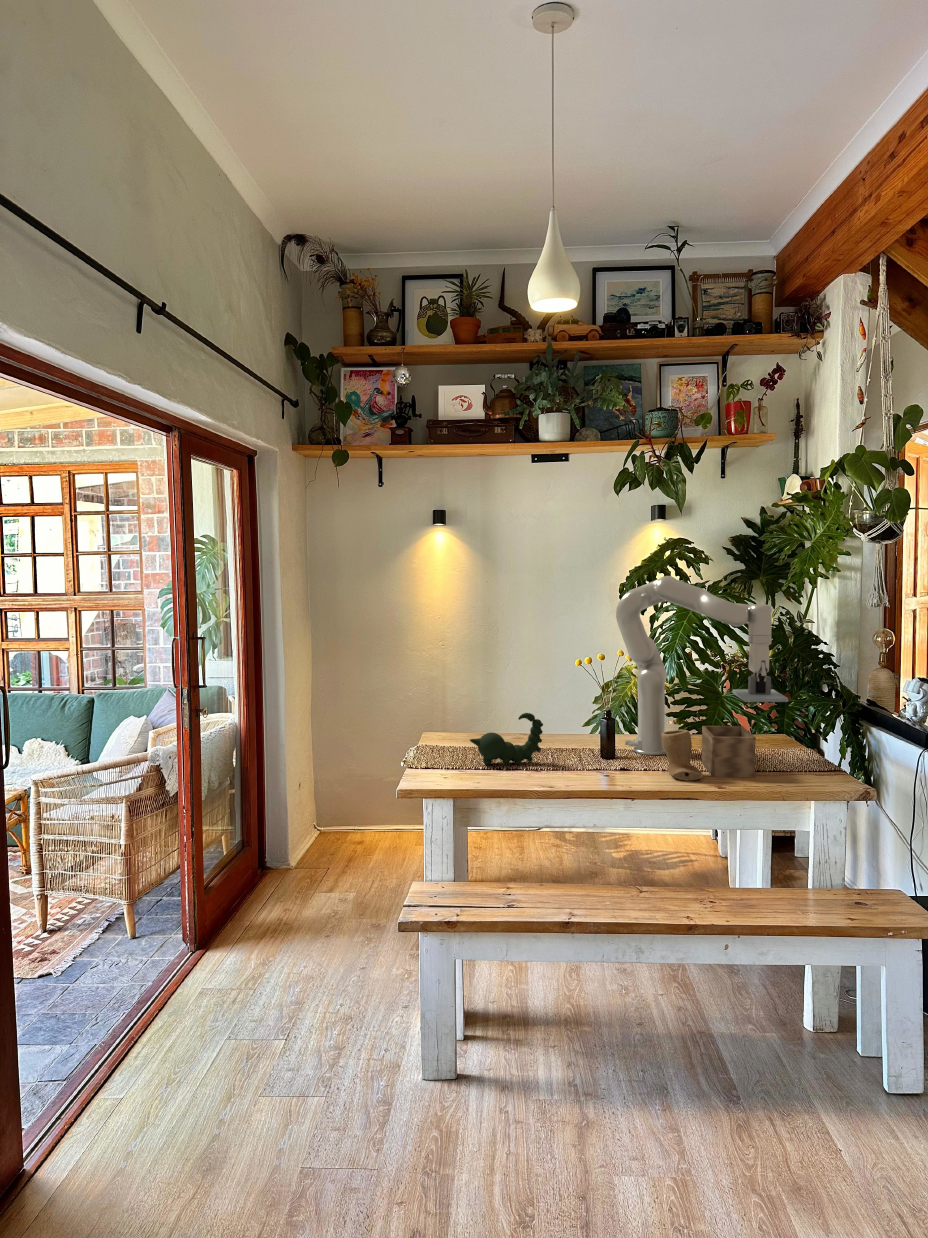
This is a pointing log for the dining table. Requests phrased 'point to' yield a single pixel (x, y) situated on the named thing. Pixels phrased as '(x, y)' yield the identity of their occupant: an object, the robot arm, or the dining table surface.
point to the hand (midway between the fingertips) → (759, 691)
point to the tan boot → (679, 755)
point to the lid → (752, 696)
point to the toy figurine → (510, 745)
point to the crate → (728, 751)
